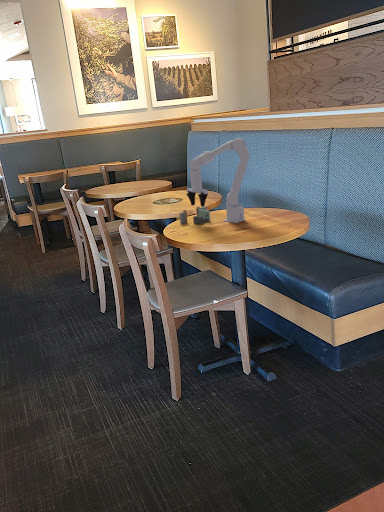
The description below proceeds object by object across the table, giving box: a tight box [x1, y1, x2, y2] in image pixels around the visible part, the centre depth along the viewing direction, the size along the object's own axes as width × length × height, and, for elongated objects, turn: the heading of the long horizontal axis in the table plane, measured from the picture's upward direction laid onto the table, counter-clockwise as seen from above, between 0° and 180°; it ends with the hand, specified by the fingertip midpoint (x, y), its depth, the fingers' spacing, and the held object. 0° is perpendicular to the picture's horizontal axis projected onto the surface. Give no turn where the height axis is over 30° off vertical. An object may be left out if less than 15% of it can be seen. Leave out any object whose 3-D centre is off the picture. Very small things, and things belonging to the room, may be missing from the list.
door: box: [198, 209, 211, 222], centre depth 251 cm, size 2×9×6 cm, turn 42°
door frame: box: [179, 205, 208, 225], centre depth 253 cm, size 2×20×7 cm, turn 133°
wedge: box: [192, 215, 210, 225], centre depth 247 cm, size 8×4×4 cm, turn 133°
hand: (197, 205), depth 247 cm, fingers open, 7 cm apart
